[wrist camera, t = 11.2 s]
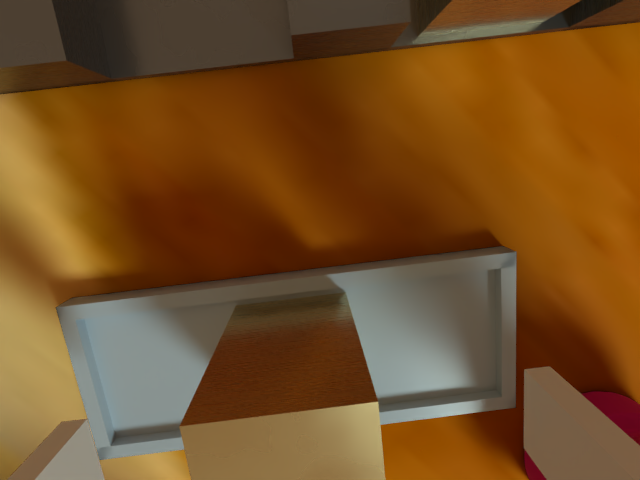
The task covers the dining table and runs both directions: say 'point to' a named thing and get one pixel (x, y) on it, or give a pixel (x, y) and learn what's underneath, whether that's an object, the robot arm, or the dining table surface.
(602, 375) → the dining table surface
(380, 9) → the gray notched bar
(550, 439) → the robot arm
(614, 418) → the pepper mill
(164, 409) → the tray
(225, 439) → the beige rectangular block
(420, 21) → the cream upright block
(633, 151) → the dining table surface
